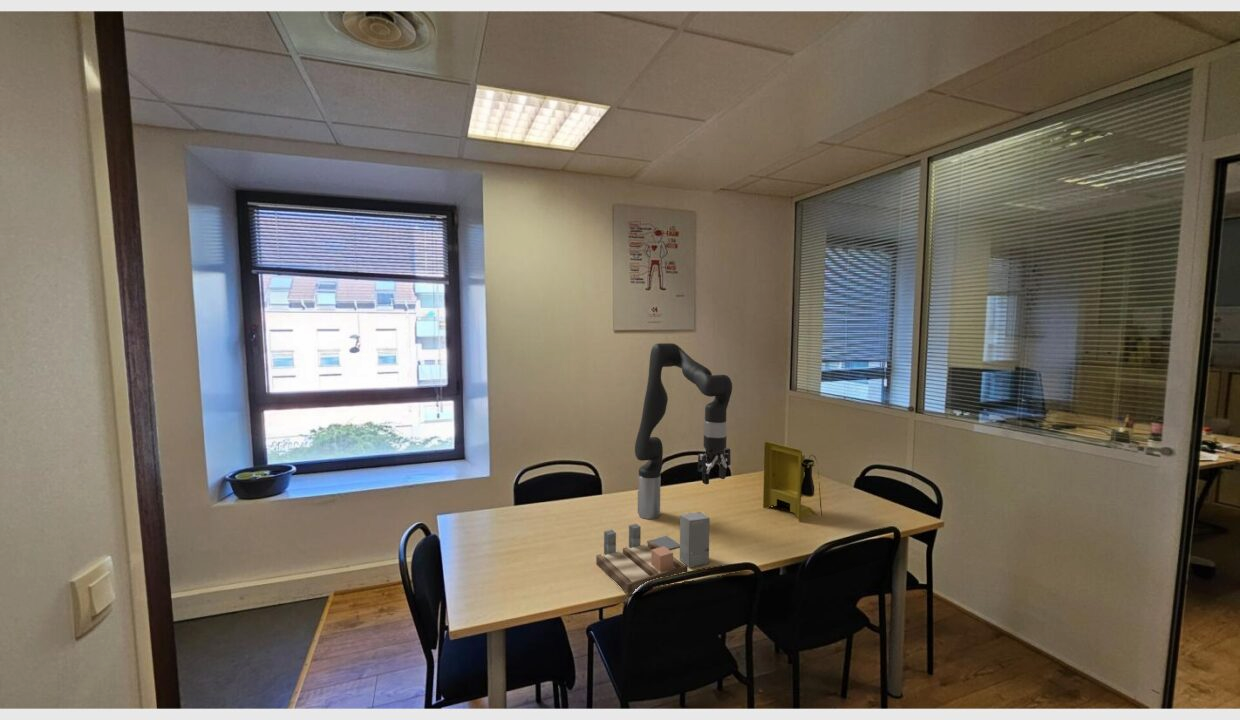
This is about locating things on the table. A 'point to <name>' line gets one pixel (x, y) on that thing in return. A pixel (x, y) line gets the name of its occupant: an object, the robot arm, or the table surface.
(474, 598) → the table surface
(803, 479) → the vintage telephone
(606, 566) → the lane board
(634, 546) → the strip
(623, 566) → the strip
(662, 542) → the pad
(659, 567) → the cube
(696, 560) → the skincare box
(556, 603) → the table surface
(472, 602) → the table surface
